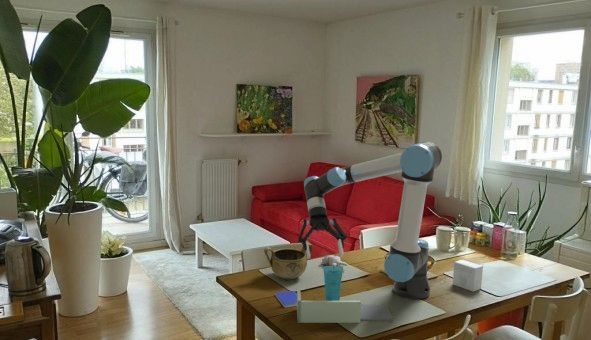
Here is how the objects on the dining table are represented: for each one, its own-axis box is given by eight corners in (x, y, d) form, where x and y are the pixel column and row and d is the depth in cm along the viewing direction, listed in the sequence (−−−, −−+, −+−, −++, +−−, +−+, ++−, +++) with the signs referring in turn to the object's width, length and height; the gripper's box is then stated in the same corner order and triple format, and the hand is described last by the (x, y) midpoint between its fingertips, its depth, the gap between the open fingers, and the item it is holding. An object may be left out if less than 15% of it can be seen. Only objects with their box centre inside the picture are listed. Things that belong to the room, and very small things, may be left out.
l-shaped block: (355, 309, 183) (356, 289, 182) (360, 322, 172) (360, 302, 171) (296, 308, 183) (297, 289, 181) (297, 322, 172) (298, 302, 170)
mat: (385, 306, 186) (385, 304, 186) (392, 320, 174) (392, 319, 174) (355, 306, 186) (355, 304, 186) (360, 320, 174) (360, 319, 174)
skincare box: (481, 288, 205) (483, 265, 203) (473, 292, 201) (475, 268, 199) (460, 281, 213) (462, 258, 211) (452, 284, 209) (453, 261, 207)
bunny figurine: (336, 252, 237) (349, 259, 223) (336, 262, 237) (349, 269, 223) (318, 254, 234) (330, 261, 220) (319, 264, 234) (331, 271, 220)
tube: (340, 311, 181) (341, 263, 178) (343, 316, 177) (344, 267, 174) (321, 312, 180) (322, 264, 177) (323, 318, 175) (325, 268, 172)
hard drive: (304, 302, 186) (293, 290, 198) (284, 305, 184) (275, 292, 195) (304, 306, 187) (293, 293, 198) (284, 308, 184) (275, 296, 195)
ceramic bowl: (304, 268, 226) (305, 237, 224) (318, 281, 210) (319, 248, 208) (259, 273, 219) (260, 242, 216) (270, 287, 203) (270, 253, 201)
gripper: (343, 213, 204) (353, 258, 191) (286, 215, 199) (293, 262, 187) (347, 204, 198) (358, 250, 185) (289, 206, 193) (295, 253, 181)
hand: (325, 256), depth 186 cm, fingers open, 13 cm apart
